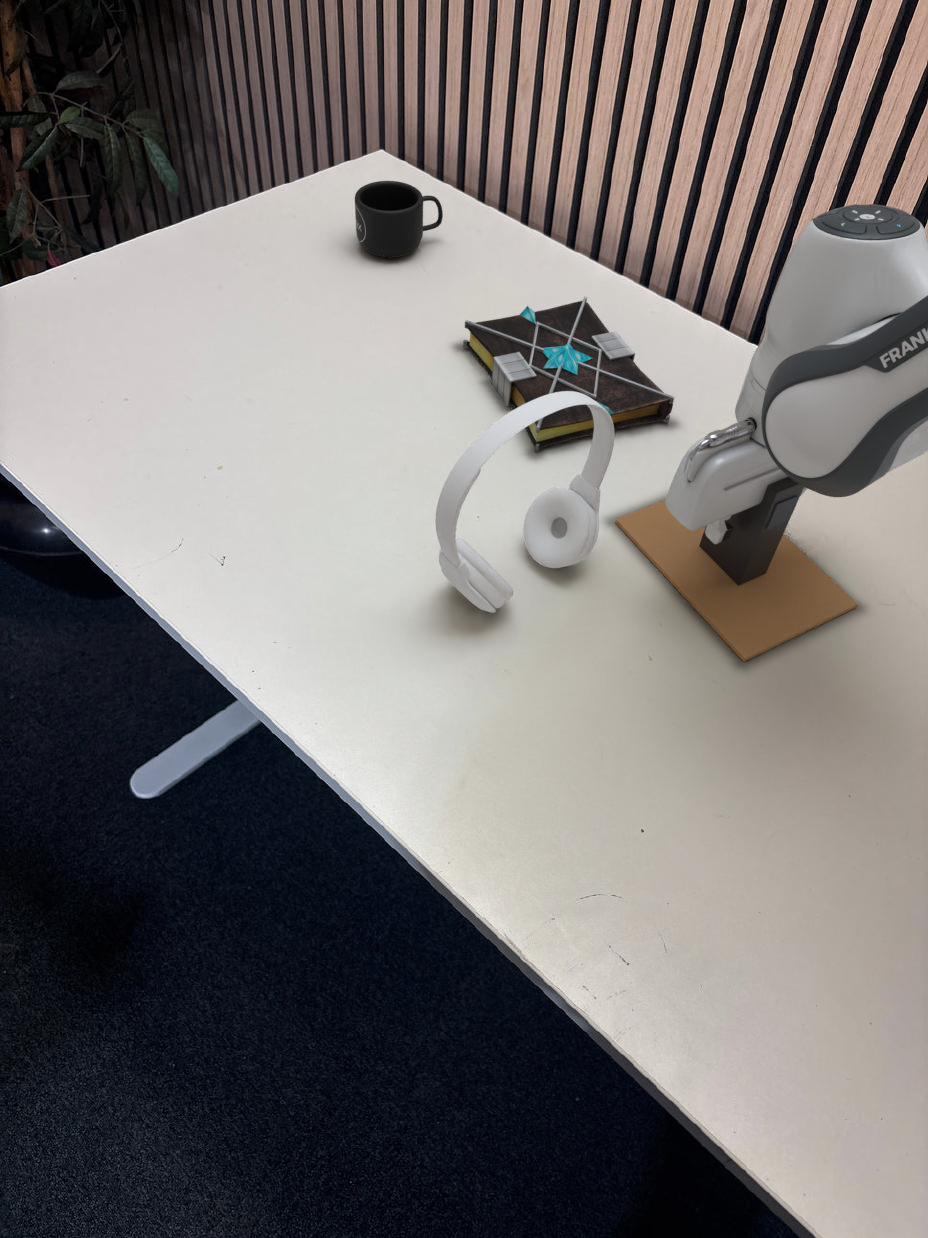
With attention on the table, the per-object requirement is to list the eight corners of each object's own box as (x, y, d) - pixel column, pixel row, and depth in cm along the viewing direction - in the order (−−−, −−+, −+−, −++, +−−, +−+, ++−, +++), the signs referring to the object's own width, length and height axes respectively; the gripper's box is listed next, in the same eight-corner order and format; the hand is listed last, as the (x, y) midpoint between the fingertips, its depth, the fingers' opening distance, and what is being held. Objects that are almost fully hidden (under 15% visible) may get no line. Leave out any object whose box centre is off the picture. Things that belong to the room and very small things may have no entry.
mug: (366, 268, 122) (364, 216, 116) (349, 235, 127) (346, 183, 121) (452, 256, 124) (453, 205, 119) (432, 224, 130) (432, 173, 124)
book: (670, 423, 103) (679, 386, 99) (535, 455, 99) (540, 418, 95) (583, 320, 116) (589, 284, 112) (460, 345, 111) (462, 308, 107)
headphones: (610, 559, 89) (651, 390, 74) (464, 647, 82) (475, 478, 66) (561, 517, 93) (591, 347, 77) (416, 598, 85) (416, 427, 70)
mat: (856, 607, 87) (858, 604, 86) (743, 662, 82) (745, 658, 82) (721, 480, 98) (722, 476, 97) (614, 522, 93) (615, 518, 92)
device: (767, 574, 88) (808, 481, 79) (739, 587, 87) (778, 493, 78) (726, 534, 92) (761, 440, 82) (698, 545, 90) (731, 451, 81)
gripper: (720, 464, 70) (679, 585, 80) (909, 392, 77) (848, 511, 87) (670, 418, 73) (637, 539, 84) (854, 352, 80) (803, 472, 91)
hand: (746, 524), depth 86 cm, fingers open, 6 cm apart
